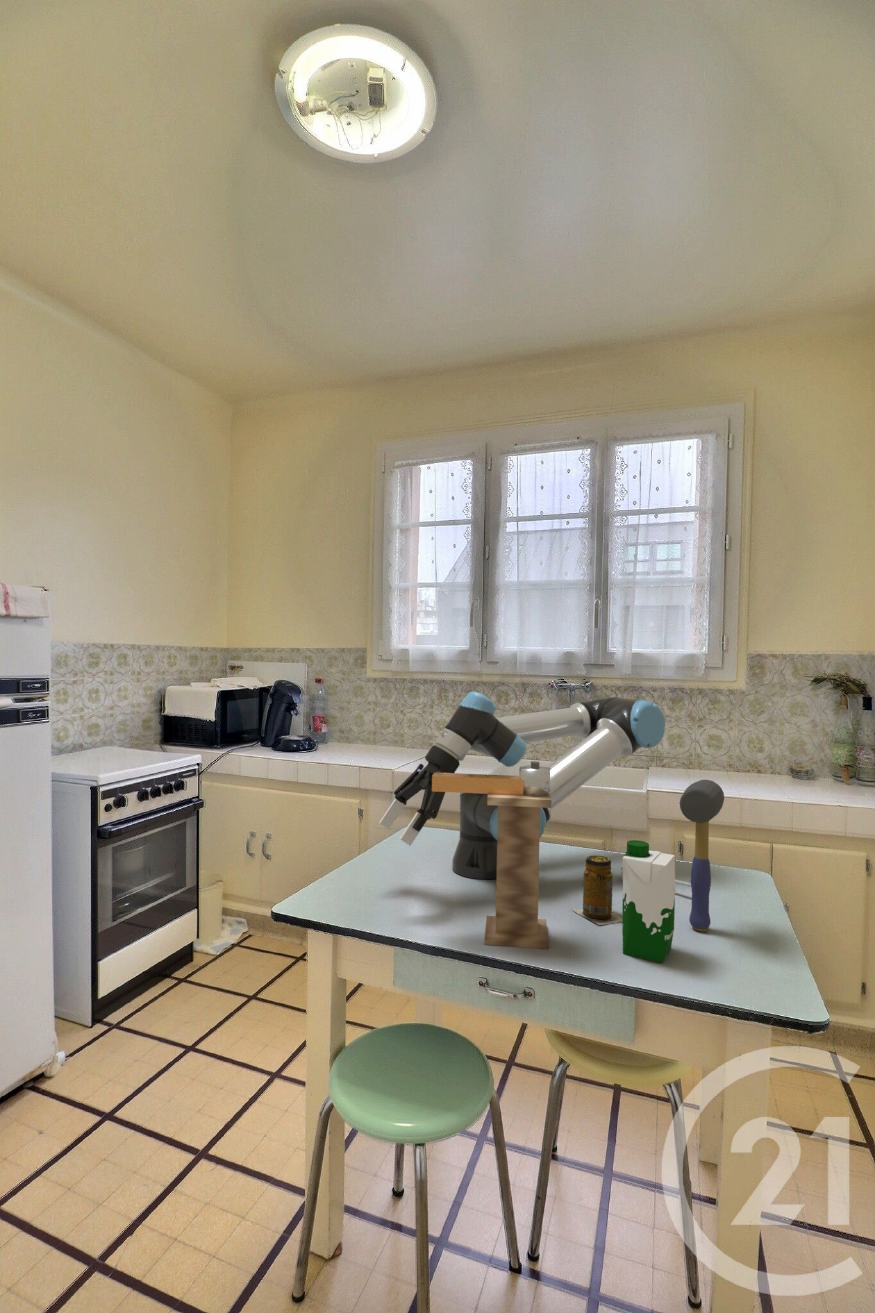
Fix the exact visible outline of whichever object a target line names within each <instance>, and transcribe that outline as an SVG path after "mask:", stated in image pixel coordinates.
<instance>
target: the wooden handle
mask: <svg viewBox="0 0 875 1313" xmlns="http://www.w3.org/2000/svg"><path fill="white" fill-rule="evenodd" d="M518 770H519V775H509V774H508V775H506V774H505V775H504V774H485V773H484V774H483V773H481V774H480V773H460V772H459V773H458V772H455V773H437V772H435V773H434V774H433V776H432V791H436V792H445V793H459V794H460V793H482V794H504V795H524V796H529V797H546V796H549V795H550V768H548V766H543V765H540V761H535V760H532V761H531V760H530V765H522V766H521V765H520V766H519V769H518Z"/></svg>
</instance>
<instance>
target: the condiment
mask: <svg viewBox="0 0 875 1313" xmlns="http://www.w3.org/2000/svg"><path fill="white" fill-rule="evenodd" d="M582 878H583V880H582V882H583V885H582V887H583V888H582V908H581V909H578V908H577V909H573V912H575V913H577V914H578V915H579V916H581V917H583V918H585V919H588V920H589V921H591V922H592V923H595V924H597V925H598V926H604V925H605V926H606V925H612V924H616V923H620V922H621V923H622V916H620V915H618V914H617V913H614V912H613V883H614V882H613V880H614V875H613V872H612V861H611V858H609V857H606V856H603V855H594V854H593V855H589V856H587V857H586V858H585V869H584V870H583V876H582Z"/></svg>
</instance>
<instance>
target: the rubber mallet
mask: <svg viewBox="0 0 875 1313" xmlns="http://www.w3.org/2000/svg"><path fill="white" fill-rule="evenodd" d="M724 801H725V793H724V791H723V789H722V787H721V786H720V785H719V784H718V783H716V782H715V781H713V780H710V779H700V780H697V781H695V782H693V783H691V784H690V785H689V786H688V787H686V788H685V790H684V791H683V793H682V795H681V797H680V800H679V808H680V811H681V813H682V815H683V816H684V817H685V818H686V819H687V820H689V821H691V822H693V823H695V835H694V837H695V838H694V839H695V840H694V856H693V858H692V863H691V871H690V883H691V910H690V915H689V919H688V920H689V921H688V922H689V923H690V925H691V926H692V929H693V930H695V931H698V932H707V931H708V929H709V928H710V926H711V924H712V923H711V917H710V891H711V886H712V877H711V876H712V875H711V874H712V873H711V872H712V871H711V864H710V859H709V840H710V839H709V835H710V834H709V827H710V826H709V825H710V821H711V820H712V819H714V818H715V817H716V816H718V815H719V813H720V812H721V810H722V809H723V807H724Z"/></svg>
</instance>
